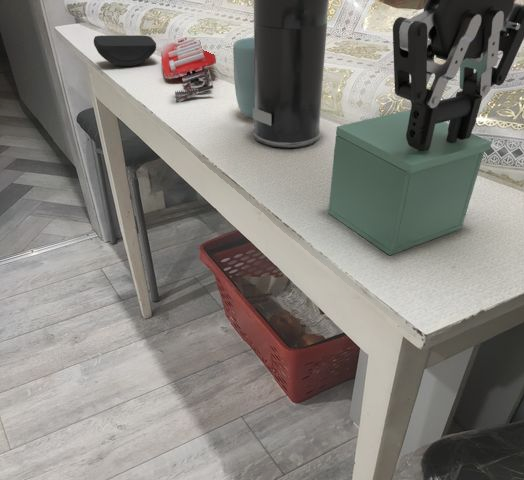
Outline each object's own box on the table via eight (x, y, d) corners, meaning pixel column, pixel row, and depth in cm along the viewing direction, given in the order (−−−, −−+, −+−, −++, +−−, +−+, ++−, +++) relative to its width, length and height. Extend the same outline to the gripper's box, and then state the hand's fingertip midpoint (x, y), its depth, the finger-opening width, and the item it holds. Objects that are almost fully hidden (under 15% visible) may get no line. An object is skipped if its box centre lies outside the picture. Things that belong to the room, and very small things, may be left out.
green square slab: (489, 150, 49) (506, 96, 46) (410, 173, 45) (421, 116, 42) (411, 116, 56) (420, 67, 53) (335, 134, 52) (340, 82, 49)
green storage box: (461, 228, 55) (485, 148, 49) (389, 255, 51) (406, 172, 46) (396, 191, 62) (410, 117, 56) (328, 213, 58) (335, 135, 52)
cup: (254, 105, 85) (253, 34, 78) (295, 113, 81) (297, 41, 75) (226, 118, 80) (222, 44, 73) (268, 127, 77) (268, 51, 70)
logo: (222, 77, 84) (164, 95, 84) (225, 88, 85) (167, 106, 86) (206, 27, 100) (157, 43, 101) (209, 37, 102) (161, 53, 102)
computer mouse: (97, 45, 96) (100, 69, 99) (157, 45, 99) (158, 68, 102) (91, 35, 100) (94, 58, 102) (149, 35, 103) (150, 57, 106)
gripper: (464, -101, 31) (409, 174, 43) (607, -104, 36) (523, 140, 48) (381, -104, 36) (352, 144, 47) (518, -107, 41) (462, 116, 53)
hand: (438, 141), depth 48 cm, fingers closed on green square slab, 4 cm apart
